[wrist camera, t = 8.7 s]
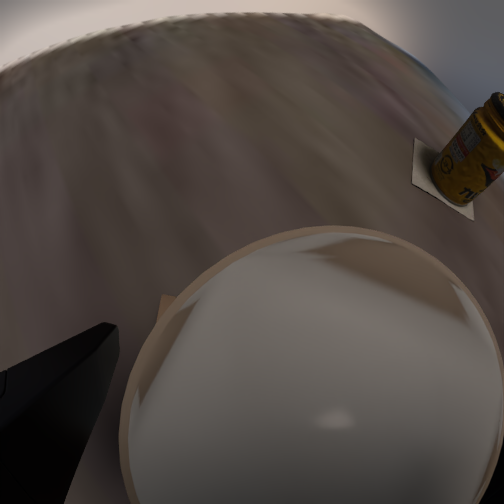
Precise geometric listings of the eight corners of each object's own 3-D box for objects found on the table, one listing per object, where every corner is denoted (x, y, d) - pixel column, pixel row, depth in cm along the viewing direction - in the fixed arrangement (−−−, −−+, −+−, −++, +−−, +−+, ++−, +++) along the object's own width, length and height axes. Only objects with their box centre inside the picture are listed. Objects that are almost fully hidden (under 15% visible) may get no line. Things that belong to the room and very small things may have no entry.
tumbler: (249, 469, 13) (368, 631, 1) (168, 407, 14) (33, 454, 2) (312, 393, 15) (535, 360, 3) (234, 333, 16) (312, 160, 4)
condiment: (473, 222, 27) (548, 155, 16) (410, 184, 27) (481, 97, 16) (469, 175, 30) (528, 110, 19) (413, 139, 30) (466, 61, 19)
